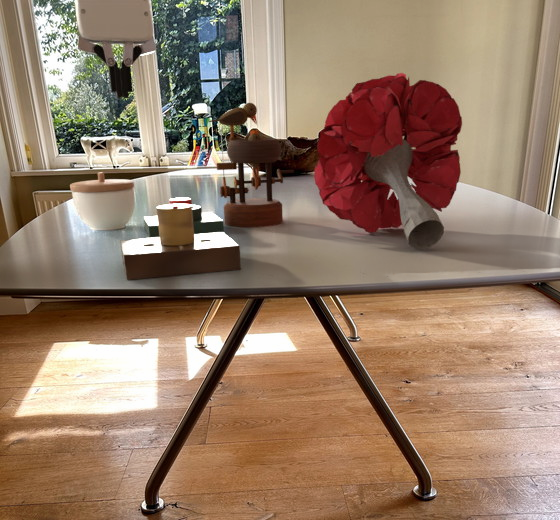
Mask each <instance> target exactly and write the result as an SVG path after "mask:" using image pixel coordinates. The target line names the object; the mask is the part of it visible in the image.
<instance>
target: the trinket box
mask: <svg viewBox="0 0 560 520" xmlns="http://www.w3.org/2000/svg"><path fill="white" fill-rule="evenodd" d="M69 188H70V191H71V197H72V202H73V205H74V208H75V210H76V211H75V212H76V214H77V215H78V217H79V219H80V220H81V222H83V223H84V224H85V225H86V226H88V227H89V228H90V230H91V231H99V232H100V231H103V232H104V231H117V230H121V229H125V228H126V227H127V224H128V223H129V222H130V220H131V219H132V217H133V215H134V211H135V205H136V197H135V196H136V195H135V182H134V180H132V179H123V178H122V179H119V178H108V179H105V173H104V172H103V171H101V172H97V179H91V180H83V181H82V180H81V181H76V182H72V183H70V184H69Z"/></svg>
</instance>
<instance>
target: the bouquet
mask: <svg viewBox="0 0 560 520" xmlns="http://www.w3.org/2000/svg"><path fill="white" fill-rule="evenodd" d="M462 127H463V117H462V116H461V112H460V107H459V105H458V103H457V101H456V100H455V98H454V97H452V95H451V94H450V92H448V90H447V89H446V88H445V87H443V86H442V85H440V84H439V83H437V82H435V81H429V80H426V79H419V80H418V81H416V82H415V83H414V84H413V85H412V84H411V85H410V76H408V78H407V75H406V73H403V72H399V73H396V74H395V75H390V74H388V75H386V76H382V77H380V78H371V79H368V80H366V81H361V82H357V83H355V85H354V86H353V87H352V89H351V92H349V93H348V94H347V96H345V99H340V100H338V101H337V102H336V104H334V105H333V106H332V108H331V109H330V110H329V111H328V113H327V115H326V119H325V122H324V127H323V129H322V130H321V131H320V132H319V134H318V136H319V138H318V142H317V154H318V162H317V163H316V165H315V167H314V171H313V180H314V183H315V185H316V187H317V189H318V195H319V197H320V199H321V201H322V204H323V205H324V206H326V207H327V209H328V210H329V211H330V212H331V213H332V214H334V215H335V216H336V217H337V218H338V219H339V220H343V221H350V222H352V224H353V225H355V226H356V227H357V228H359V229H362V230H364V232H366V233H367V234H373V233H377V232H378V230H379V229H382V230H383V229H389V228H393V229H394V228H395V229H398V228H399V227H401V226H402V228H403V235H404V237H405V238H406V240H407V243H408V244H409V246H410V247H411V248H413V249H415V250H424V249H428V248H431V247H433V246H434V245H436V244H437V243H438V242H439V241H441V239H442V237H443V235H444V232H445V226H444V225H443V223H442V220H441V219H440V217H439V215H438V214H437V212H436V211H438V212H441V213H442V212H443V209H446V208H448V206H449V205H450V204H451V202H452V200H453V197H454V195H455V192H456V191H457V185H458V184H459V181H460V179H461V174H462V172H461V163H460V161H461V160H460V157H461V156H460V154H459V149H452V146H455V145H457V141H458V135H459V134H460V133H461V131H462ZM409 179H411V181H412V183H411V182H410V181H409ZM391 190H392V193H391V194H390V192H391ZM435 210H436V211H435Z"/></svg>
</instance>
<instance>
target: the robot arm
mask: <svg viewBox="0 0 560 520" xmlns="http://www.w3.org/2000/svg"><path fill="white" fill-rule="evenodd" d="M74 5H75V6H74V8H75V19H76V26H77V32H78V38H77V40H78V41H77V47H78V50H79V51H82V52H84V53H87V54H92V55H95V56H97V58H99V59H100V60H101V61H102V62H103V63H104V64H105V66H106V67H107V68H108V75H109V76H108V77H109V85H110V86H109V87H110V92H111V93H115V98H116V99H121V98H123V99H129V95H130V94H129V93H133V79H132V69H131V67H132V66H133V64H134V63H135V62H136V61H137V60H138V59H139V57H140V56H145V55H149V54H152V53H154V52H156V51H157V45H156V42H155V39H154V24H153V13H152V7H151V6H152V5H151V0H74ZM113 45H121V46H123V47H122V61H121V62H120V67H119V64H118V61H116V58H115V53H114V50H113Z"/></svg>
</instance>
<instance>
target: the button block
mask: <svg viewBox="0 0 560 520" xmlns="http://www.w3.org/2000/svg"><path fill="white" fill-rule="evenodd" d="M192 213H193V225H194V235H195V234H208V233H220V232H224V233H225V227H224V225H225V224H224V219H222V218H220V217H219V216H218V215H216V214H215V213H214V212H212V211H211V212H203V210H202V206H201V205H196V204H192ZM142 218H143V228H144V231H145V233H146V235H147V236H148V238H156V237H159V227H158V218H157V215H153V216H152V215H151V216H143V217H142Z"/></svg>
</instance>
